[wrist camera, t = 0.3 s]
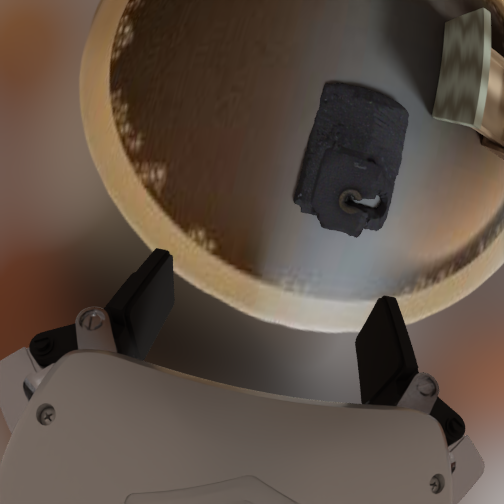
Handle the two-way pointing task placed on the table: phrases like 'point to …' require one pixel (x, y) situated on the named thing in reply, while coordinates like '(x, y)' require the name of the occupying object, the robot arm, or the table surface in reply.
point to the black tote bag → (352, 158)
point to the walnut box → (493, 146)
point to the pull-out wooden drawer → (471, 77)
